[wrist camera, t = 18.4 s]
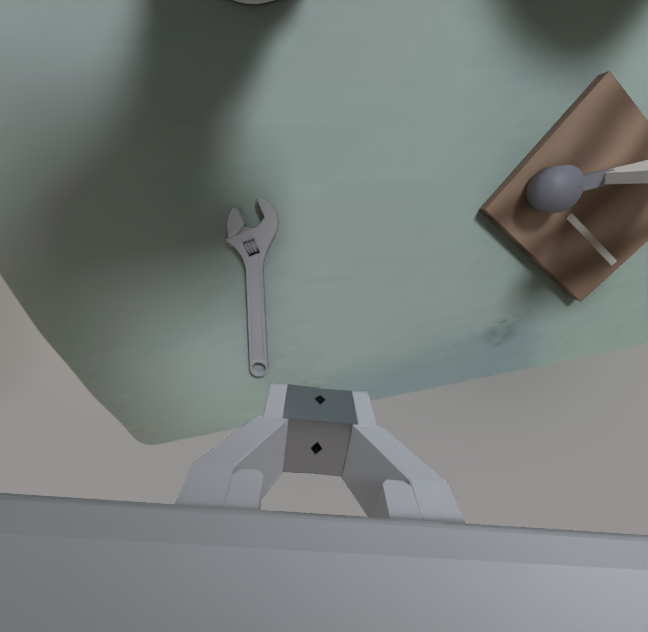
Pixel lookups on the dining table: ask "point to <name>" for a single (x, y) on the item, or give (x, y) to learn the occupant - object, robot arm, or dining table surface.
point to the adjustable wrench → (254, 274)
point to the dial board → (595, 204)
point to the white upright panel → (576, 184)
